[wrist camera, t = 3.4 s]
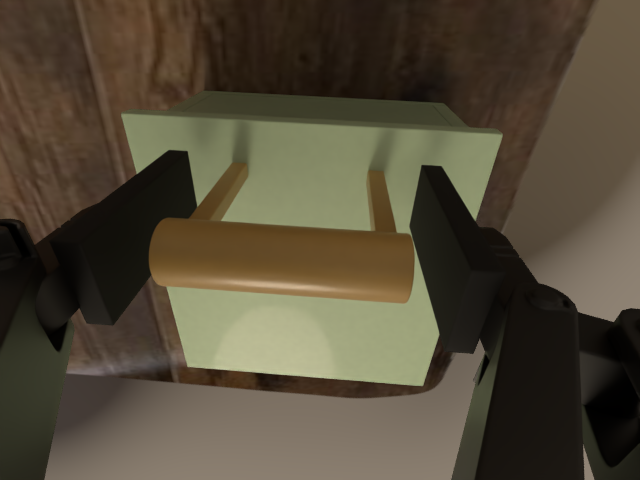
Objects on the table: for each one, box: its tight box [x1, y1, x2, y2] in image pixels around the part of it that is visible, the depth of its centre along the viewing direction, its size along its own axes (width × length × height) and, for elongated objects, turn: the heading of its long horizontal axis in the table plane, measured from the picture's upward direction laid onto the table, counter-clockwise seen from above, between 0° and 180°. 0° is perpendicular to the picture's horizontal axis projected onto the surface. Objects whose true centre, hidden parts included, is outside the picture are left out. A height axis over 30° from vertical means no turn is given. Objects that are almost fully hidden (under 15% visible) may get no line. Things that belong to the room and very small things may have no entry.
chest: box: [167, 91, 468, 127], centre depth 24 cm, size 16×16×9 cm
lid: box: [121, 109, 503, 386], centre depth 16 cm, size 17×16×8 cm
